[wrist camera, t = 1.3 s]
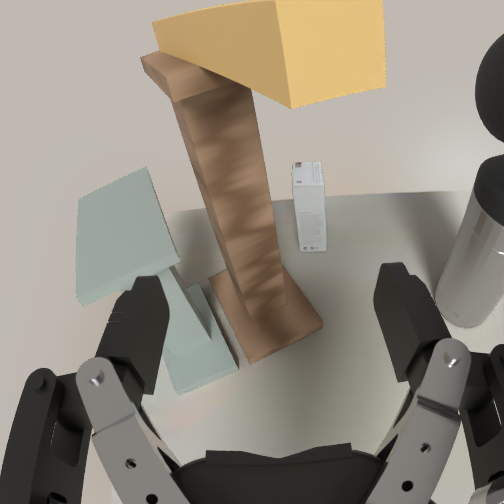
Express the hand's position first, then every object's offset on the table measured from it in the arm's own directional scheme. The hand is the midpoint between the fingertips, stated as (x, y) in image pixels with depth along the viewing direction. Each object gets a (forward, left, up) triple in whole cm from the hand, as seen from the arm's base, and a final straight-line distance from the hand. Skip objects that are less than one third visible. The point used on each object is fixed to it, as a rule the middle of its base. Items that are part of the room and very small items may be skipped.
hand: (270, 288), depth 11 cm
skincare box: (-15, -24, -26) cm, 39 cm away
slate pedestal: (+7, -17, -26) cm, 32 cm away
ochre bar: (-3, -12, +6) cm, 13 cm away
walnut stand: (-3, -17, -26) cm, 31 cm away
